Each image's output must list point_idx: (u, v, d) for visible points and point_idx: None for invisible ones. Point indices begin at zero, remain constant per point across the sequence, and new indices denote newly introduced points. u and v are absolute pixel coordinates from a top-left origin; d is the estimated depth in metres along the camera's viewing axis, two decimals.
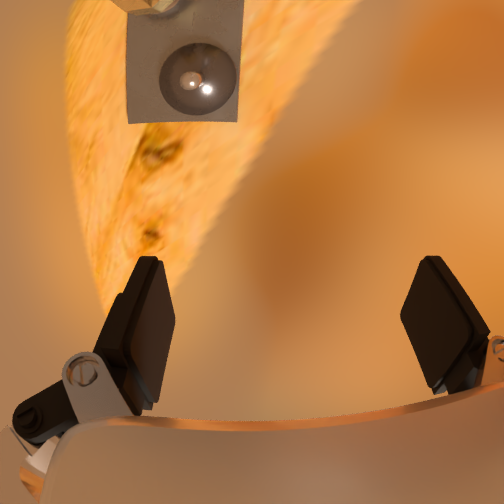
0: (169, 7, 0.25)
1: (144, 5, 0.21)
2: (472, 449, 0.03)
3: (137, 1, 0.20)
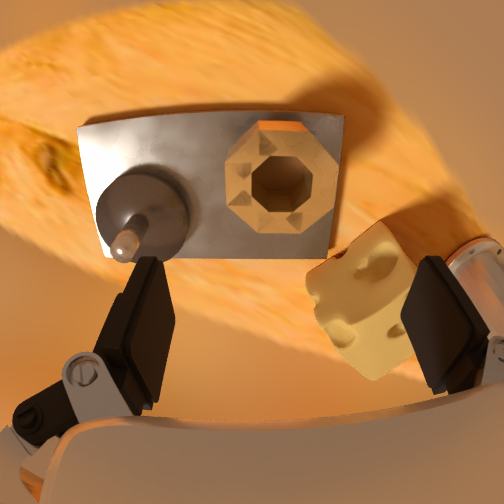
0: None
1: (232, 193, 0.19)
2: (472, 449, 0.03)
3: (241, 182, 0.19)
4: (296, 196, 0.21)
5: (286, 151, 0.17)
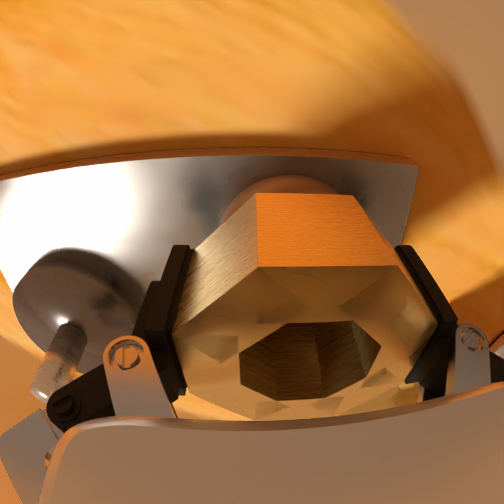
0: None
1: (198, 380, 0.08)
2: (472, 449, 0.03)
3: (217, 366, 0.08)
4: (331, 351, 0.10)
5: (330, 312, 0.07)
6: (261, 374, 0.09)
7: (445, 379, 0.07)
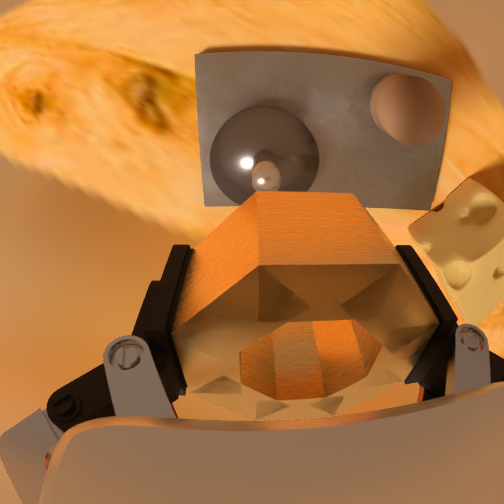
0: (377, 122, 0.22)
1: (198, 379, 0.08)
2: (472, 449, 0.03)
3: (217, 365, 0.08)
4: (332, 350, 0.10)
5: (331, 311, 0.07)
6: (261, 373, 0.09)
7: (445, 379, 0.07)
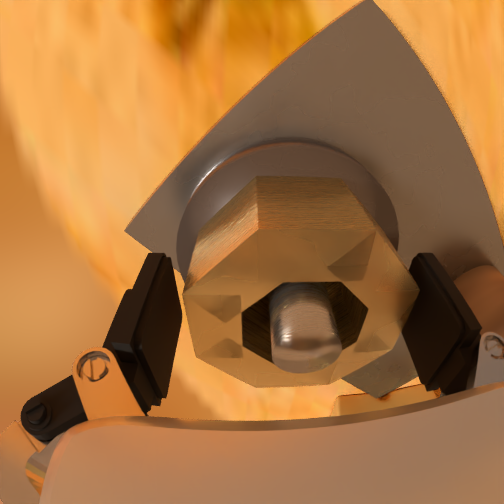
0: None
1: (204, 342, 0.09)
2: (472, 449, 0.03)
3: (221, 327, 0.09)
4: None
5: (320, 272, 0.08)
6: (261, 340, 0.10)
7: None
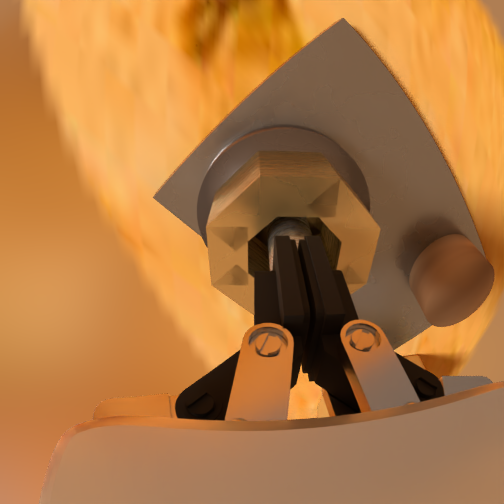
0: (417, 270, 0.18)
1: (219, 269, 0.13)
2: (472, 449, 0.03)
3: (233, 255, 0.12)
4: None
5: (303, 209, 0.11)
6: None
7: (337, 379, 0.07)
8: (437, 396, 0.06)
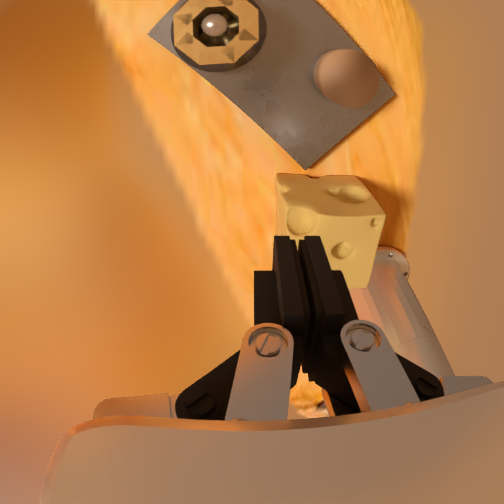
0: (315, 69, 0.26)
1: (178, 36, 0.20)
2: (472, 449, 0.03)
3: (185, 27, 0.19)
4: None
5: (217, 3, 0.18)
6: (201, 42, 0.21)
7: (337, 379, 0.07)
8: (437, 396, 0.06)
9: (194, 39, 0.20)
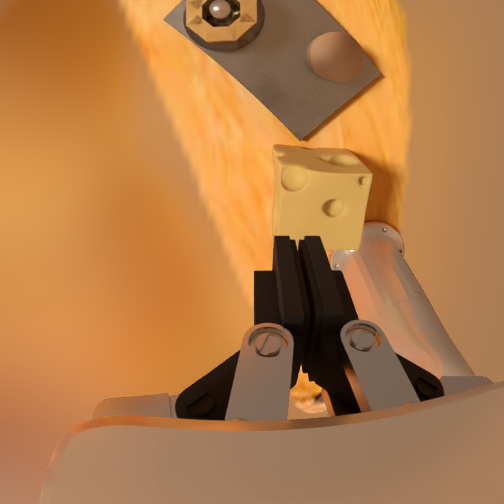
0: (308, 50, 0.28)
1: (190, 17, 0.23)
2: (472, 449, 0.03)
3: (195, 10, 0.22)
4: None
5: None
6: None
7: (337, 379, 0.07)
8: (437, 396, 0.06)
9: (203, 20, 0.23)
